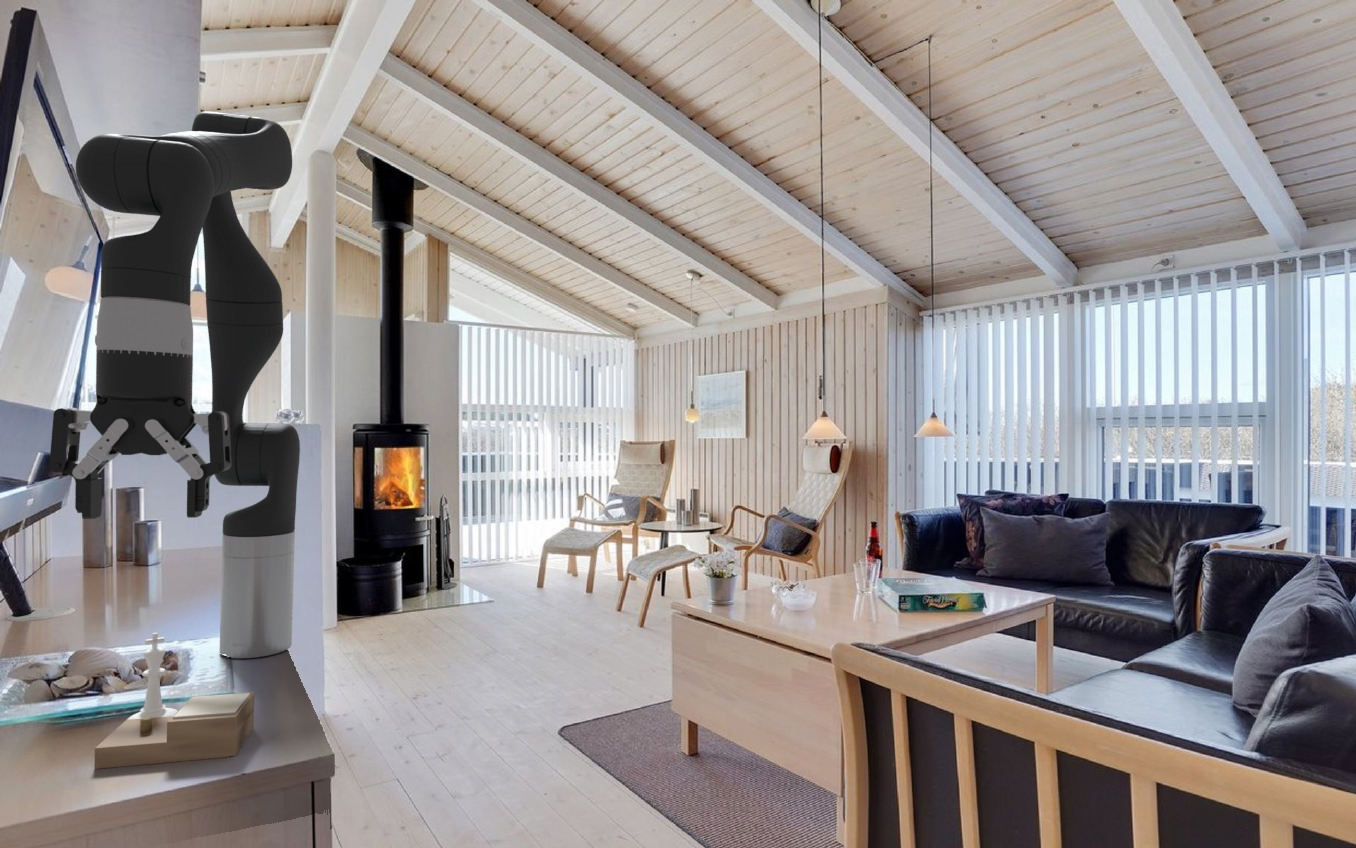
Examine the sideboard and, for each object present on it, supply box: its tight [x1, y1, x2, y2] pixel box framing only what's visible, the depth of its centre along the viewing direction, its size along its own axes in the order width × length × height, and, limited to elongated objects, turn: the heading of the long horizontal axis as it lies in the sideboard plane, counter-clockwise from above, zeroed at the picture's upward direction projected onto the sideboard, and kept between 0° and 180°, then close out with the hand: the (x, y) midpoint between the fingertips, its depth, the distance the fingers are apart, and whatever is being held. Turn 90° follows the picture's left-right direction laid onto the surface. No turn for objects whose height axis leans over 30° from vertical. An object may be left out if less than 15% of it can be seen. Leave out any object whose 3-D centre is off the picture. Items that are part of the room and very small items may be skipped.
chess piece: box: [126, 632, 178, 720], centre depth 82 cm, size 5×5×10 cm
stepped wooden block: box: [93, 691, 256, 770], centre depth 76 cm, size 7×12×4 cm, turn 106°
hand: (143, 517), depth 71 cm, fingers open, 8 cm apart
